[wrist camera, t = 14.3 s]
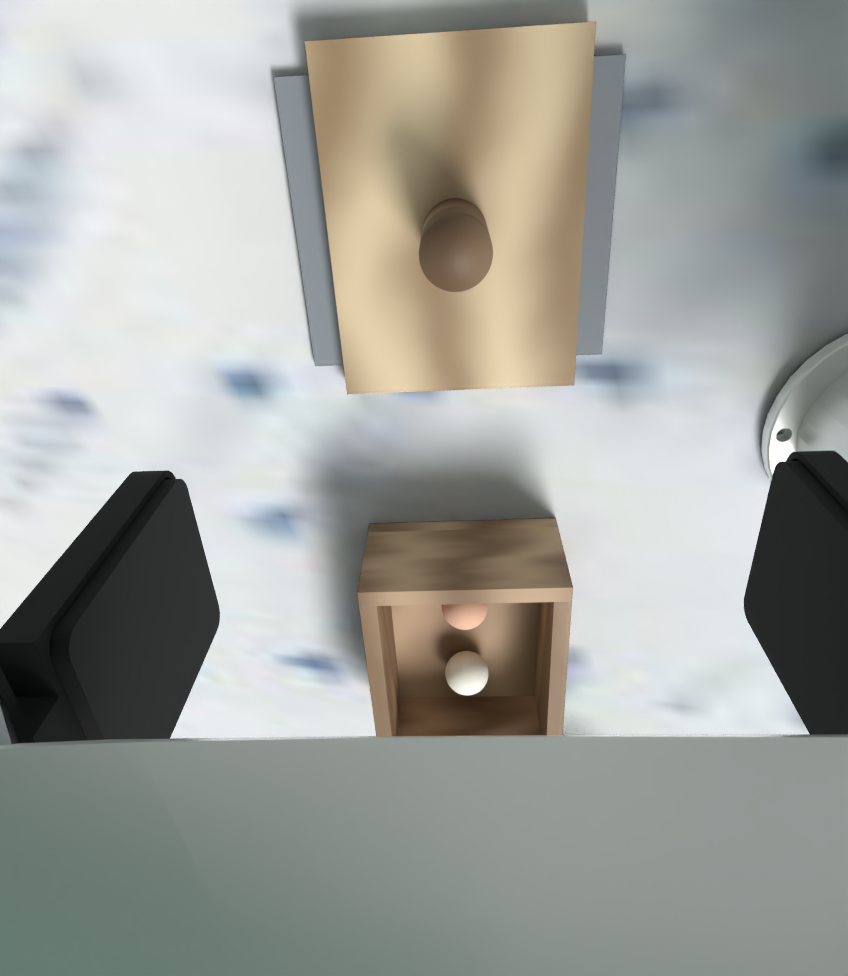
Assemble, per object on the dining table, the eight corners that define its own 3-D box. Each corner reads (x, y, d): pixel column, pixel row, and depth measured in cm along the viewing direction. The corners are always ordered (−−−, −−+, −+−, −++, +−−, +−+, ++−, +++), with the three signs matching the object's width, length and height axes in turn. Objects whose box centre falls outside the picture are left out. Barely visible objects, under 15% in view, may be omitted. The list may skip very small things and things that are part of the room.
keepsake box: (555, 518, 44) (573, 587, 38) (546, 694, 52) (559, 774, 46) (369, 523, 44) (357, 592, 38) (389, 697, 52) (381, 776, 46)
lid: (591, 23, 30) (621, 10, 25) (571, 378, 38) (590, 424, 33) (308, 42, 31) (280, 33, 26) (349, 387, 39) (334, 433, 34)
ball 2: (487, 641, 48) (489, 673, 45) (487, 672, 49) (489, 704, 47) (444, 642, 48) (444, 673, 45) (446, 672, 50) (446, 705, 47)
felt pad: (623, 54, 31) (626, 54, 31) (600, 351, 38) (601, 354, 38) (275, 77, 32) (273, 77, 31) (316, 363, 39) (314, 366, 39)
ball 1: (486, 573, 45) (488, 602, 42) (486, 608, 46) (489, 639, 44) (440, 574, 45) (440, 604, 42) (442, 609, 47) (442, 640, 44)
